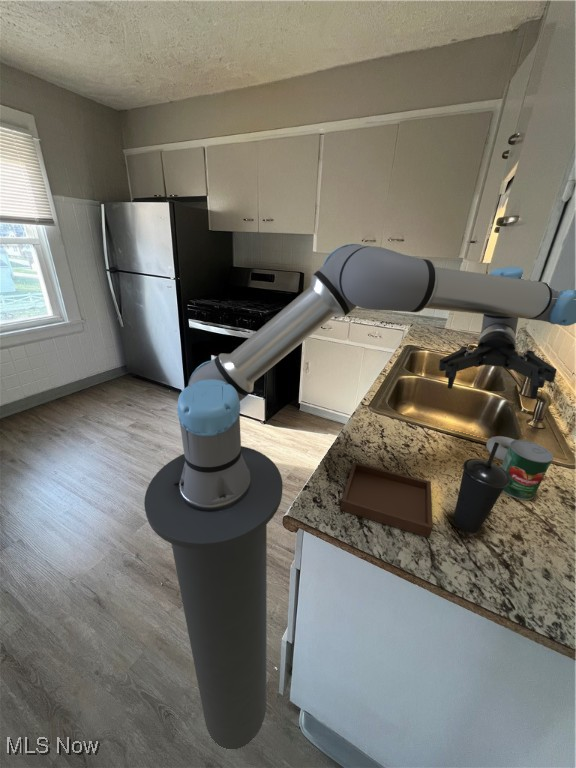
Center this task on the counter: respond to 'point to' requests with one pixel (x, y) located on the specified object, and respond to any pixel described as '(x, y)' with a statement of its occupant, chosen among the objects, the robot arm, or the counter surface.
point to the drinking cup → (479, 491)
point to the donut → (502, 448)
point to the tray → (389, 498)
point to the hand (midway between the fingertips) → (489, 387)
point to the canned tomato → (525, 468)
